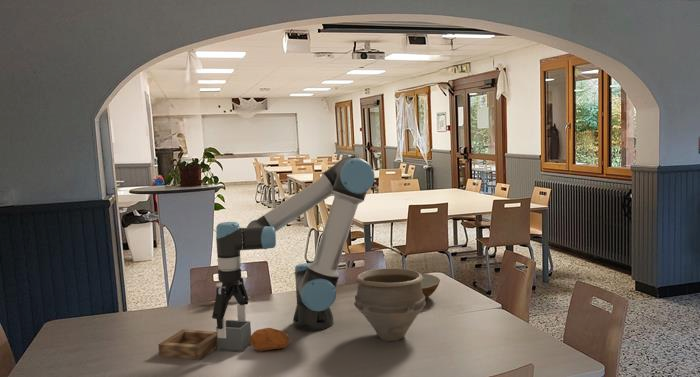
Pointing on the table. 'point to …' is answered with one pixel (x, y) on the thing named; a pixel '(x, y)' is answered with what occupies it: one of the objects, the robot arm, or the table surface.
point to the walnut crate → (189, 344)
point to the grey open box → (235, 336)
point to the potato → (269, 339)
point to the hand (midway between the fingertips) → (232, 330)
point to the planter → (390, 300)
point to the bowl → (429, 284)
